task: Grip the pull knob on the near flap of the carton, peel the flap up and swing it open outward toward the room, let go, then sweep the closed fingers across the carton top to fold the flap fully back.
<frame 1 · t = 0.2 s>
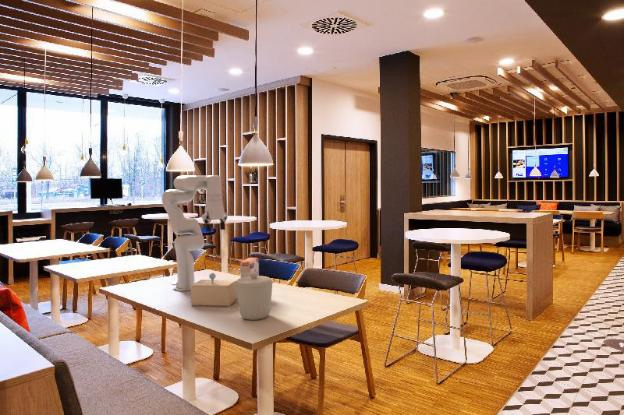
hand: (215, 230, 241), 37 cm above the table, tool pointing down, fingers open, 9 cm apart
canister: (255, 317, 208), on the table
cracker box: (250, 298, 241), on the table
near flap: (211, 279, 230), point 13 cm above the table, hinge at 0.0°
carton: (215, 302, 234), on the table
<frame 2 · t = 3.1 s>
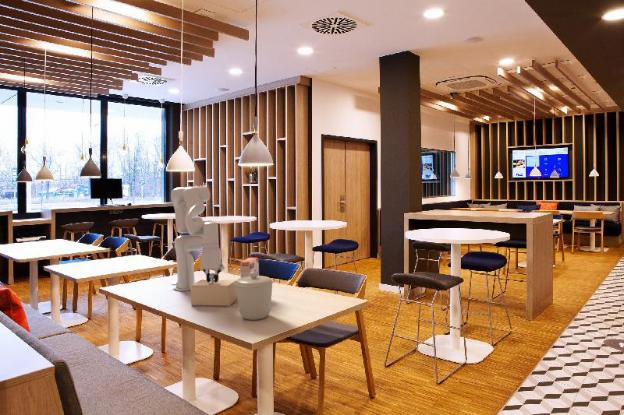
hand: (212, 281, 231), 12 cm above the table, tool pointing down, fingers closed on near flap, 3 cm apart
near flap: (211, 279, 230), point 13 cm above the table, hinge at 0.0°, touching gripper
everything else where it was.
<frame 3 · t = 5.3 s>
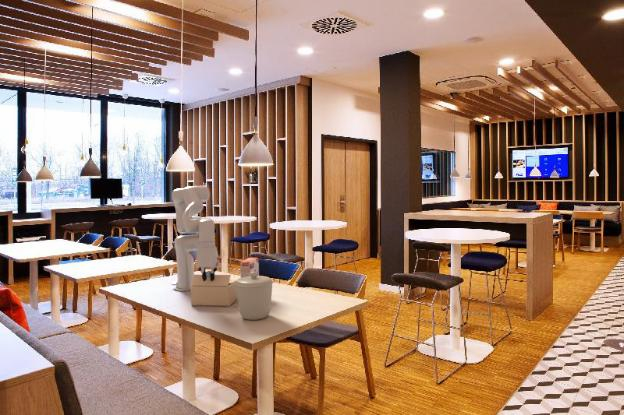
hand: (208, 280, 226), 13 cm above the table, tool pointing down, fingers closed on near flap, 3 cm apart
near flap: (209, 277, 227), point 15 cm above the table, hinge at 45.9°, touching gripper
everything else where it was.
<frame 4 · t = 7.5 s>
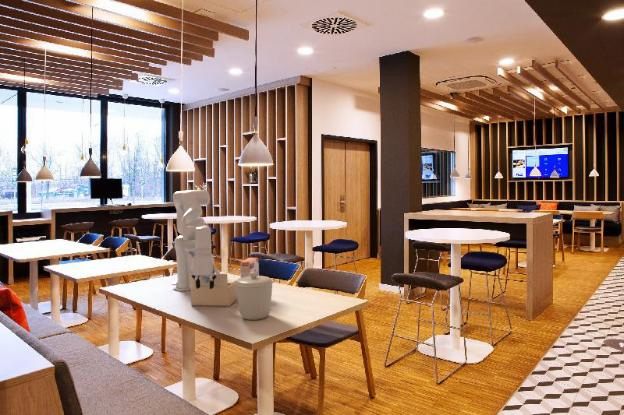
hand: (205, 287, 221), 11 cm above the table, tool pointing down, fingers open, 6 cm apart
near flap: (206, 281, 224), point 13 cm above the table, hinge at 94.5°
everything else where it was.
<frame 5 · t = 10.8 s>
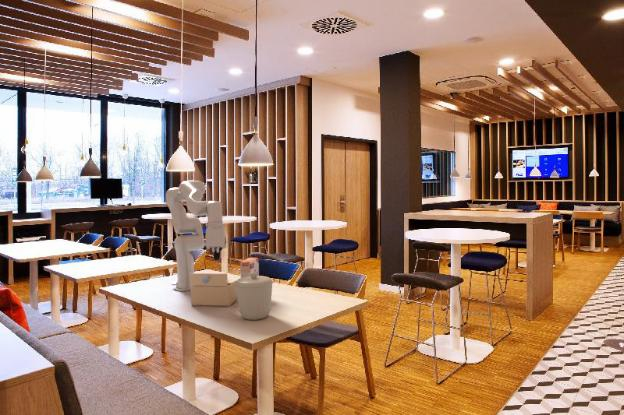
hand: (216, 259, 236), 22 cm above the table, tool pointing down, fingers closed
nothing on the table moved.
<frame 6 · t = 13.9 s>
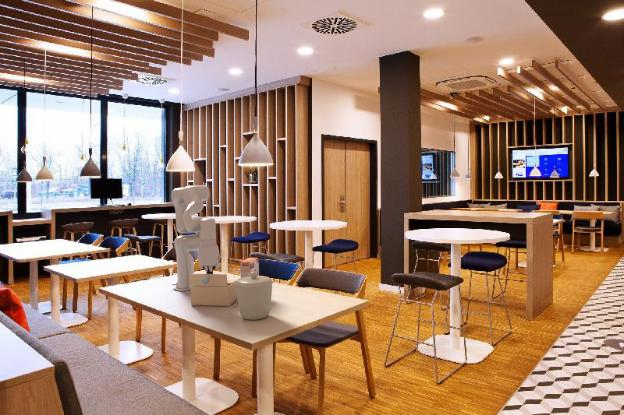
hand: (210, 278, 228), 14 cm above the table, tool pointing down, fingers closed
near flap: (206, 282, 223), point 13 cm above the table, hinge at 101.3°, touching gripper
everything else where it was.
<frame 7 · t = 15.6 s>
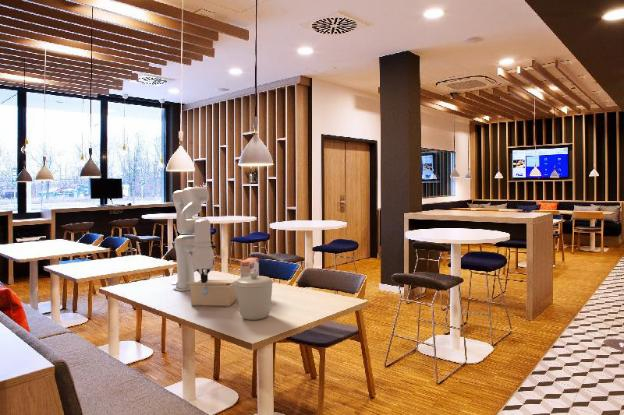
hand: (204, 282, 221), 14 cm above the table, tool pointing down, fingers closed
near flap: (206, 289, 223), point 10 cm above the table, hinge at 152.3°, touching gripper
everything else where it was.
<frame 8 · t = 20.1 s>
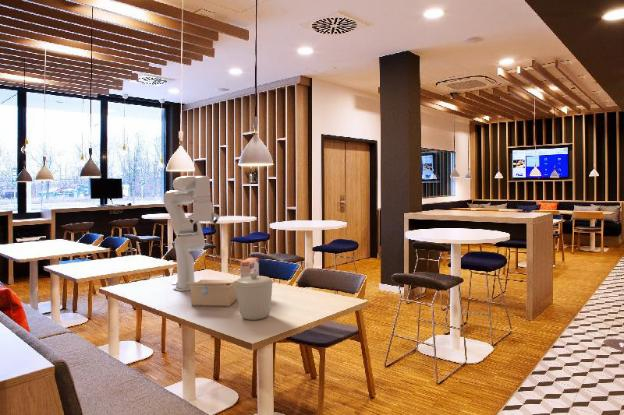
hand: (204, 231, 239), 36 cm above the table, tool pointing down, fingers open, 9 cm apart
near flap: (206, 289, 223), point 10 cm above the table, hinge at 153.1°
everything else where it was.
at the end: near flap at +153° (first picture: +0°); the gripper is holding nothing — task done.
